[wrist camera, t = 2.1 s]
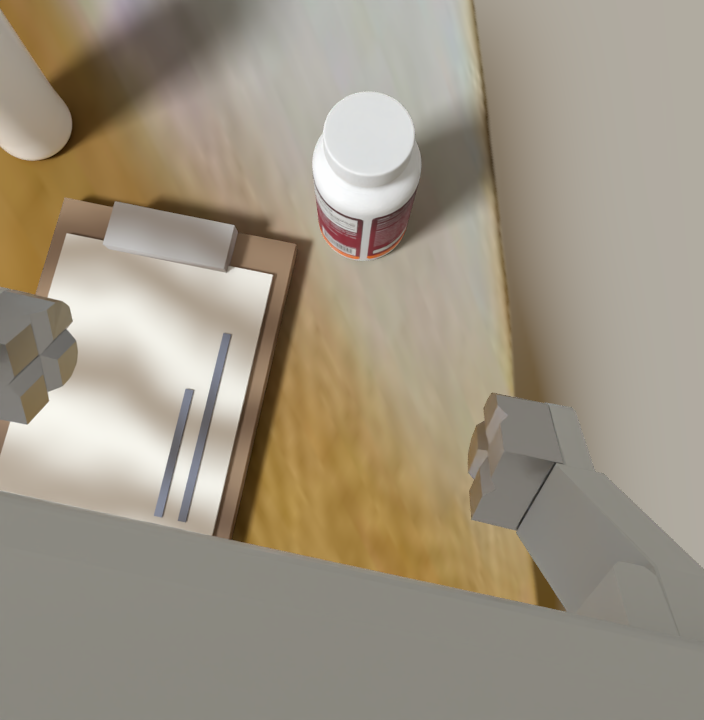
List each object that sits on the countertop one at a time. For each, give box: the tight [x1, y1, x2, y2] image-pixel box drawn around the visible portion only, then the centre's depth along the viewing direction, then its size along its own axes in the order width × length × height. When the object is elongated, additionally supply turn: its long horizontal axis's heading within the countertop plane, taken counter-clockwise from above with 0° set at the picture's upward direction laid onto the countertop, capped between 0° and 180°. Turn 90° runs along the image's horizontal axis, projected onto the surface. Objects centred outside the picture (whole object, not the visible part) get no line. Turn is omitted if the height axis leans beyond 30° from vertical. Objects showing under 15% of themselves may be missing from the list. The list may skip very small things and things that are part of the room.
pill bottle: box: [312, 91, 422, 261], centre depth 32 cm, size 6×6×11 cm
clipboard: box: [0, 198, 297, 540], centre depth 35 cm, size 22×16×2 cm
